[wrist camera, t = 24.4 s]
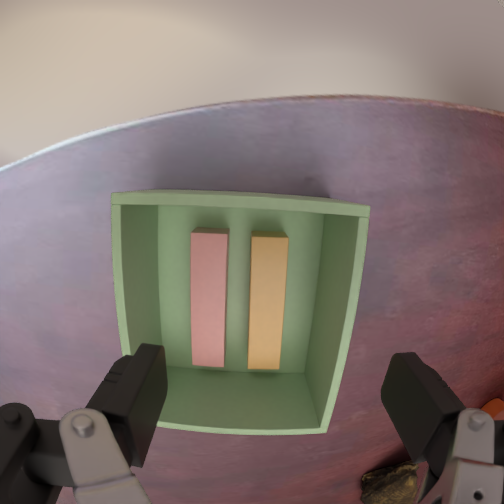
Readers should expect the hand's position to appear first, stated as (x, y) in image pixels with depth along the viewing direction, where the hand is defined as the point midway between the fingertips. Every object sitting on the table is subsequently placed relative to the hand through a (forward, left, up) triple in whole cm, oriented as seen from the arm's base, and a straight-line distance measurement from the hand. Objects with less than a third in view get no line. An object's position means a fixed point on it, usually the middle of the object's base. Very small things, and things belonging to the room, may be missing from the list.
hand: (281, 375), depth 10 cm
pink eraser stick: (+2, -4, -13) cm, 14 cm away
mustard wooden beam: (+2, 0, -13) cm, 13 cm away
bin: (+2, -2, -14) cm, 14 cm away
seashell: (+31, +20, -14) cm, 39 cm away
